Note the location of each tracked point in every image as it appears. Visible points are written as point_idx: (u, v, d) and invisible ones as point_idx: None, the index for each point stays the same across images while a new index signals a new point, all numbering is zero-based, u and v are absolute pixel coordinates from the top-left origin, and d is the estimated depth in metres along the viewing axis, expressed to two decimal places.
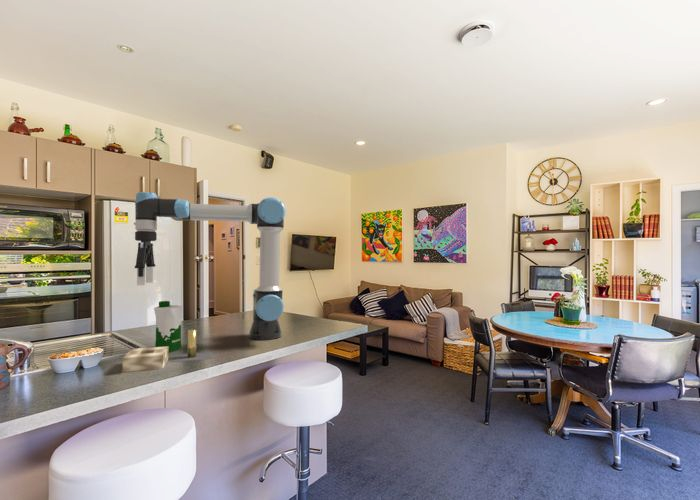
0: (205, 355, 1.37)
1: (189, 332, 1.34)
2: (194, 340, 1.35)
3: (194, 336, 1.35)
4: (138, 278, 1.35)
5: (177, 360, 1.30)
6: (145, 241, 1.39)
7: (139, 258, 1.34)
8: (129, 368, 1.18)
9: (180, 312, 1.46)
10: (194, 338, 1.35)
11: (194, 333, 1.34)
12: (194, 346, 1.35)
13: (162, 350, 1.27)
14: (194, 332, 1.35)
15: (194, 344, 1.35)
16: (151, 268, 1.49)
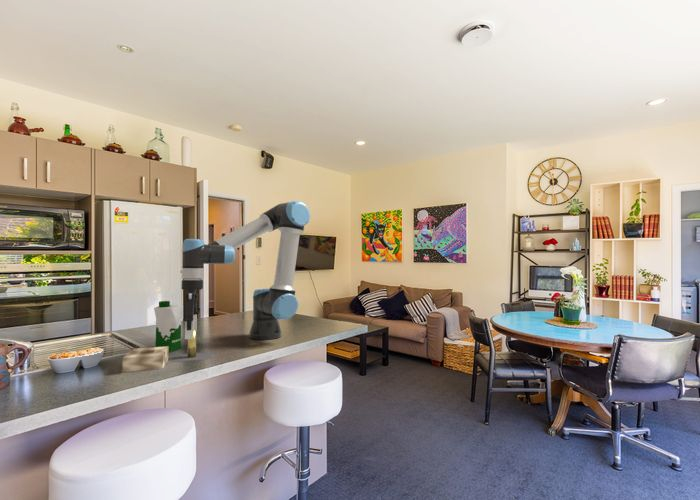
0: (205, 355, 1.37)
1: None
2: (194, 340, 1.35)
3: (194, 336, 1.35)
4: (186, 331, 1.28)
5: (177, 360, 1.30)
6: (193, 291, 1.32)
7: (188, 311, 1.27)
8: (129, 368, 1.18)
9: (180, 312, 1.46)
10: (194, 338, 1.35)
11: (194, 333, 1.34)
12: (194, 346, 1.35)
13: (162, 350, 1.27)
14: (194, 332, 1.35)
15: (194, 344, 1.35)
16: (195, 316, 1.42)
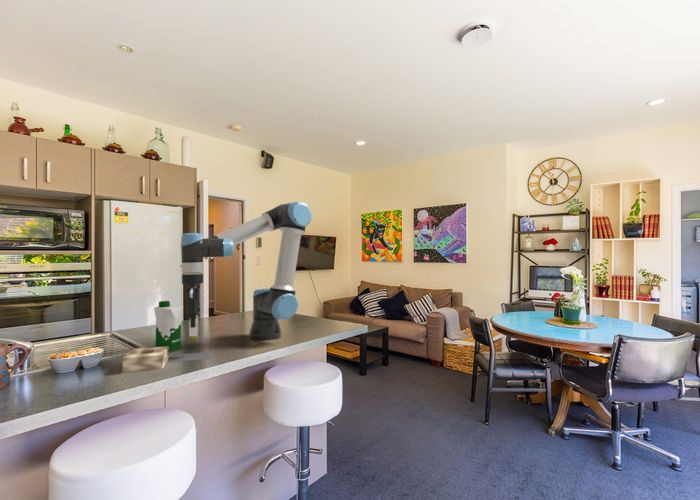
0: (205, 355, 1.37)
1: None
2: None
3: None
4: (190, 329, 1.33)
5: (177, 360, 1.30)
6: (193, 285, 1.32)
7: (191, 310, 1.31)
8: (129, 368, 1.18)
9: (180, 312, 1.46)
10: None
11: None
12: None
13: (162, 350, 1.27)
14: None
15: None
16: None
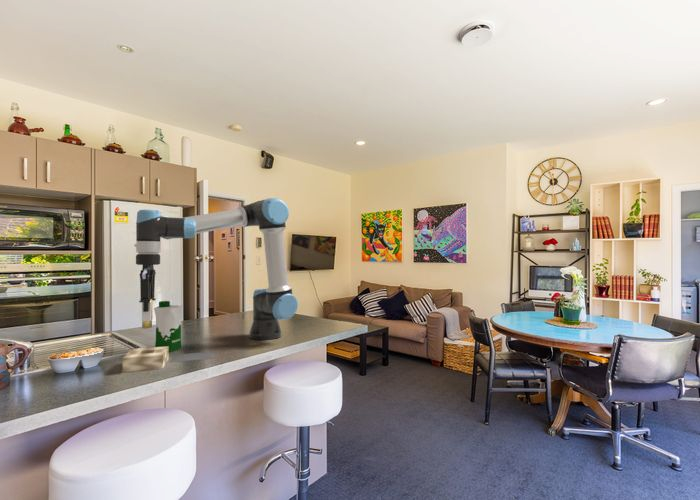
0: (205, 355, 1.37)
1: None
2: None
3: None
4: (143, 313, 1.23)
5: (177, 360, 1.30)
6: (147, 266, 1.22)
7: (143, 292, 1.20)
8: (129, 368, 1.18)
9: (180, 312, 1.46)
10: None
11: None
12: None
13: (162, 350, 1.27)
14: None
15: None
16: None
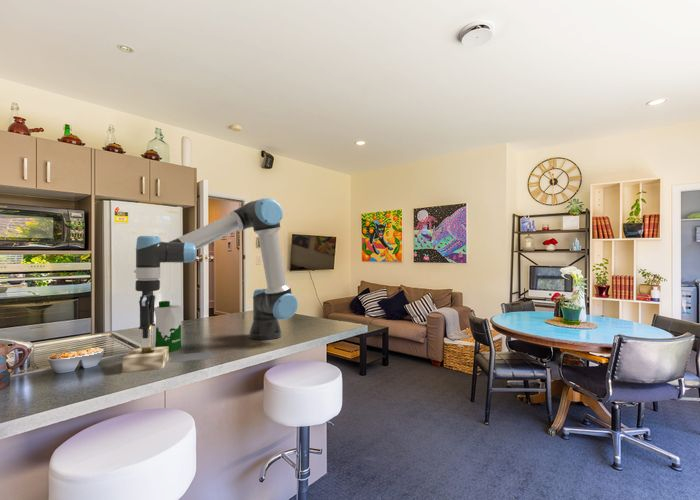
0: (205, 355, 1.37)
1: None
2: None
3: None
4: (142, 339, 1.23)
5: (177, 360, 1.30)
6: (147, 292, 1.22)
7: (143, 319, 1.20)
8: (129, 368, 1.18)
9: (180, 312, 1.46)
10: None
11: None
12: None
13: (162, 350, 1.27)
14: None
15: None
16: None
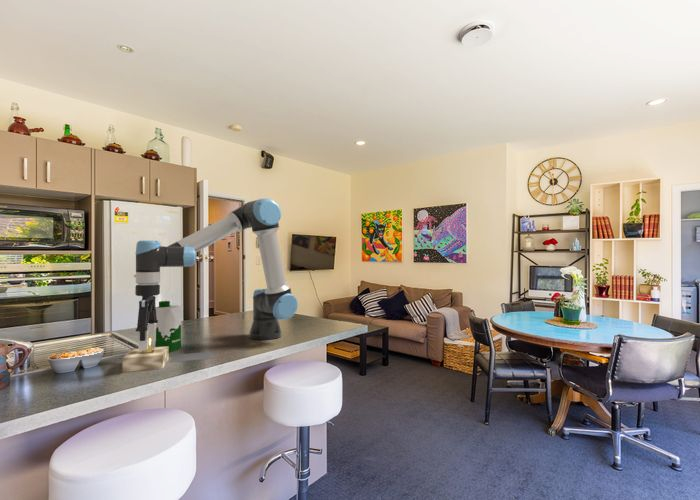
0: (205, 355, 1.37)
1: None
2: (149, 348, 1.25)
3: (149, 344, 1.25)
4: (139, 342, 1.19)
5: (177, 360, 1.30)
6: (147, 297, 1.22)
7: (141, 320, 1.17)
8: (129, 368, 1.18)
9: (180, 312, 1.46)
10: (149, 346, 1.25)
11: (149, 340, 1.24)
12: None
13: (162, 350, 1.27)
14: (149, 339, 1.24)
15: (149, 352, 1.25)
16: (153, 325, 1.31)
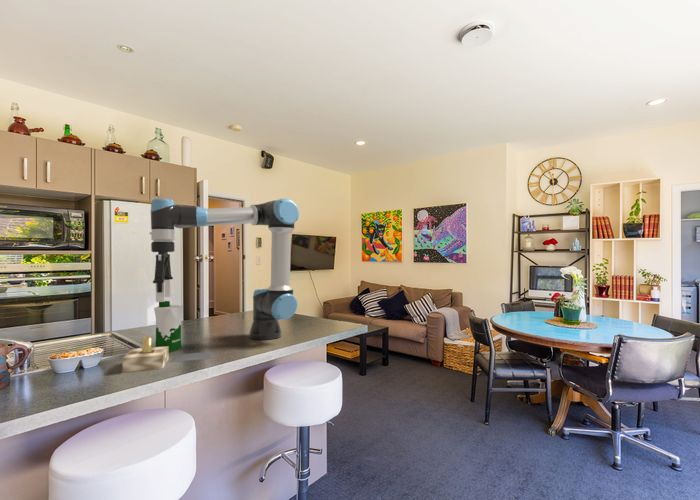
0: (205, 355, 1.37)
1: (144, 339, 1.24)
2: (149, 348, 1.25)
3: (149, 344, 1.25)
4: (157, 294, 1.23)
5: (177, 360, 1.30)
6: (163, 253, 1.26)
7: (158, 272, 1.21)
8: (129, 368, 1.18)
9: (180, 312, 1.46)
10: (149, 346, 1.25)
11: (149, 340, 1.25)
12: None
13: (162, 350, 1.27)
14: (149, 339, 1.25)
15: (149, 352, 1.25)
16: (168, 281, 1.36)
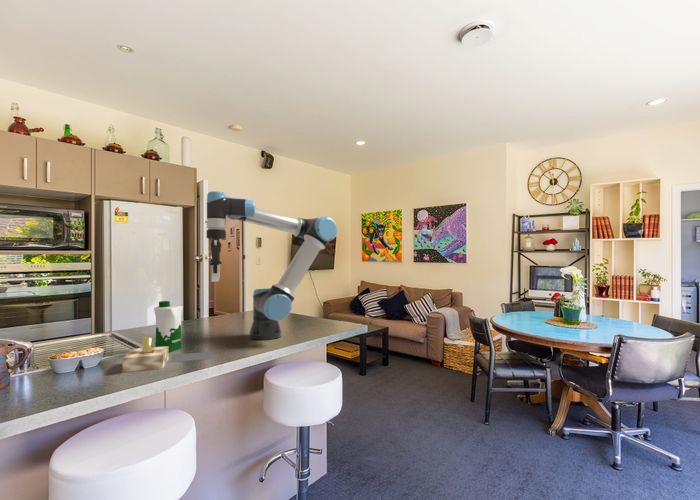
0: (205, 355, 1.37)
1: (144, 339, 1.24)
2: (149, 348, 1.25)
3: (149, 344, 1.25)
4: (212, 275, 1.40)
5: (177, 360, 1.30)
6: (217, 239, 1.43)
7: (214, 255, 1.38)
8: (129, 368, 1.18)
9: (180, 312, 1.46)
10: (149, 346, 1.25)
11: (149, 340, 1.25)
12: None
13: (162, 350, 1.27)
14: (149, 339, 1.25)
15: (149, 352, 1.25)
16: (218, 265, 1.53)
